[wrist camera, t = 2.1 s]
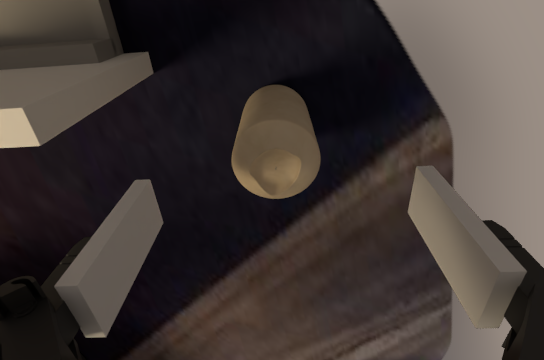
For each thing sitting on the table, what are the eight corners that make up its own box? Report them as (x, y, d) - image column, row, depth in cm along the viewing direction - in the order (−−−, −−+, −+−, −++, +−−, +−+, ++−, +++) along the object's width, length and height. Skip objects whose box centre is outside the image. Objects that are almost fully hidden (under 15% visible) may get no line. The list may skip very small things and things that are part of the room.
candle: (299, 150, 28) (310, 218, 20) (239, 140, 28) (223, 204, 19) (315, 90, 26) (335, 139, 17) (248, 77, 25) (235, 120, 16)
